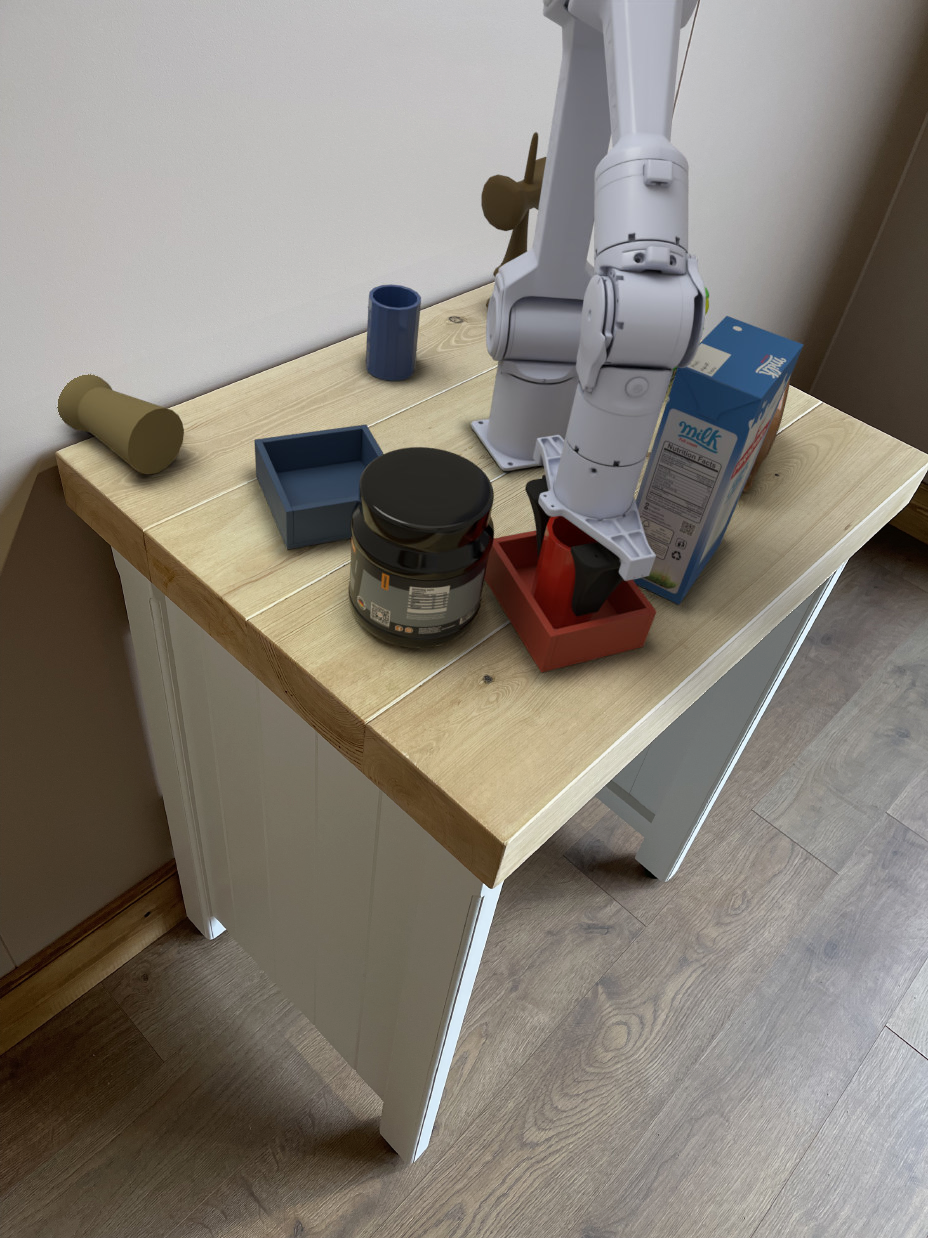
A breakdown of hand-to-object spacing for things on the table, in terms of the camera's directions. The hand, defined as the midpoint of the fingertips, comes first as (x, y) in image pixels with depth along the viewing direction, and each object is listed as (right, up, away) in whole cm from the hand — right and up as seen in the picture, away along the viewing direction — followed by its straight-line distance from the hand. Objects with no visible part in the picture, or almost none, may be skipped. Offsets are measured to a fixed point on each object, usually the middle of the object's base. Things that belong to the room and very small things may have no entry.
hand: (567, 585), depth 73 cm
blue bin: (-20, +8, +8) cm, 23 cm away
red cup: (0, -2, +2) cm, 2 cm away
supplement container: (-12, -2, 0) cm, 12 cm away
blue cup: (-16, +24, +25) cm, 38 cm away
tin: (+20, +13, +20) cm, 31 cm away
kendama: (-3, +34, +37) cm, 50 cm away
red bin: (0, -2, +2) cm, 3 cm away
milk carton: (+10, +3, +8) cm, 13 cm away
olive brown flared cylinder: (-35, +13, +6) cm, 37 cm away
